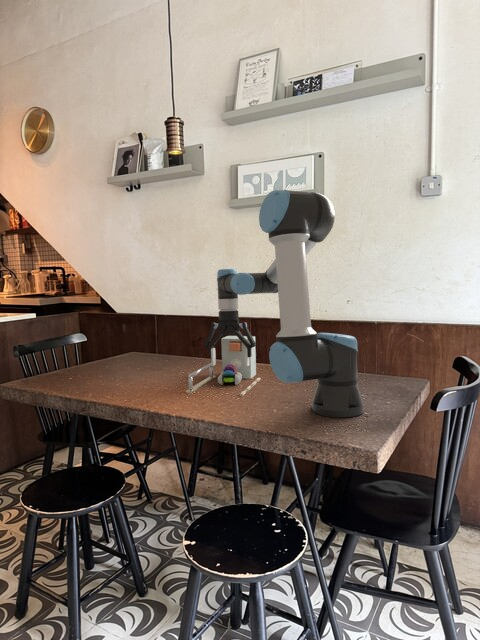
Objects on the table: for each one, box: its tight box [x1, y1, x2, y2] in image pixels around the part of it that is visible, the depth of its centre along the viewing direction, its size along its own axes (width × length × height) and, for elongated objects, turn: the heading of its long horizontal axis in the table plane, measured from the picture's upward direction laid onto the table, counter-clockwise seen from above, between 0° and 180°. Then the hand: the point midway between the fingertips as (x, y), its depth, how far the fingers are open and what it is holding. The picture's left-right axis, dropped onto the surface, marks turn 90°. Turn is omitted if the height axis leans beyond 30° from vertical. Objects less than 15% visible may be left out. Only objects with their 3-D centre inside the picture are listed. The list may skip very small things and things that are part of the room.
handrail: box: [185, 362, 217, 394], centre depth 168 cm, size 25×2×6 cm, turn 163°
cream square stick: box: [239, 377, 262, 397], centre depth 163 cm, size 25×1×1 cm, turn 163°
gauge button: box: [229, 342, 241, 351], centre depth 175 cm, size 3×4×3 cm
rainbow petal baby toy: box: [217, 364, 243, 386], centre depth 169 cm, size 8×10×7 cm
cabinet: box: [220, 335, 257, 380], centre depth 180 cm, size 8×12×16 cm
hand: (230, 365), depth 169 cm, fingers open, 13 cm apart
